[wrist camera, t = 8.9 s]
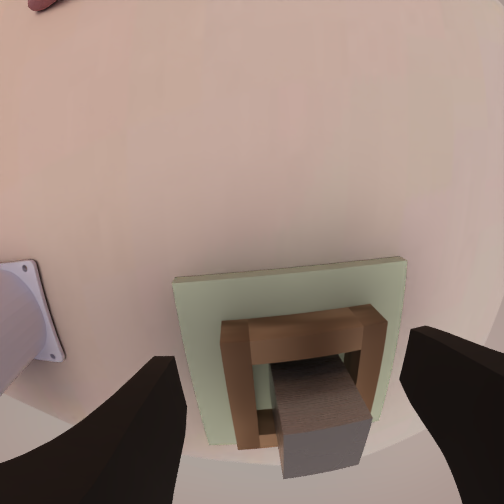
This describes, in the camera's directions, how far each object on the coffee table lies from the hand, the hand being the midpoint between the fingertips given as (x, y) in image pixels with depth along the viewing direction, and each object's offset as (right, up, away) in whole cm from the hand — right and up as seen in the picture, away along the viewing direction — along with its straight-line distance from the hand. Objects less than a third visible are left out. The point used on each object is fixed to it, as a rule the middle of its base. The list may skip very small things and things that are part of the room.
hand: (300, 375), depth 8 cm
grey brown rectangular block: (+2, -4, +10) cm, 11 cm away
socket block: (+2, -4, +11) cm, 12 cm away
